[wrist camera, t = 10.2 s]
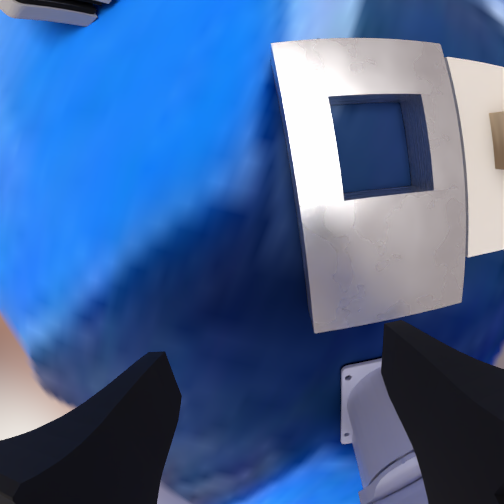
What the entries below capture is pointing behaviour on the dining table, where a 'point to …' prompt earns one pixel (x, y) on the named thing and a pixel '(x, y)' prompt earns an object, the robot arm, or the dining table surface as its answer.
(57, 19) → the hinge
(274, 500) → the dining table surface
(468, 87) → the pad
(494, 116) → the peg
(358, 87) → the white frame
